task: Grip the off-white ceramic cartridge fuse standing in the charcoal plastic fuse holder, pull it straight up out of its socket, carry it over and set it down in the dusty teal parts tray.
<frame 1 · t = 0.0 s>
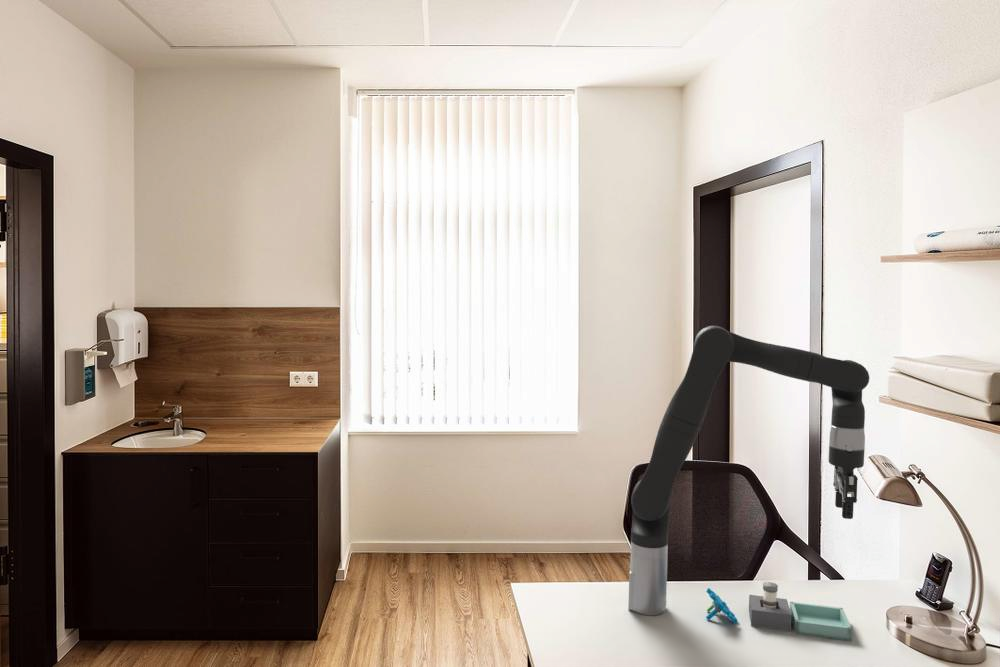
hand: (843, 512, 169), 29 cm above the table, tool pointing down, fingers open, 8 cm apart
fuse holder: (769, 620, 177), on the table
fuse: (769, 602, 176), in the fuse holder
blue plastic angular piece: (720, 620, 177), on the table
parts tray: (819, 626, 174), on the table
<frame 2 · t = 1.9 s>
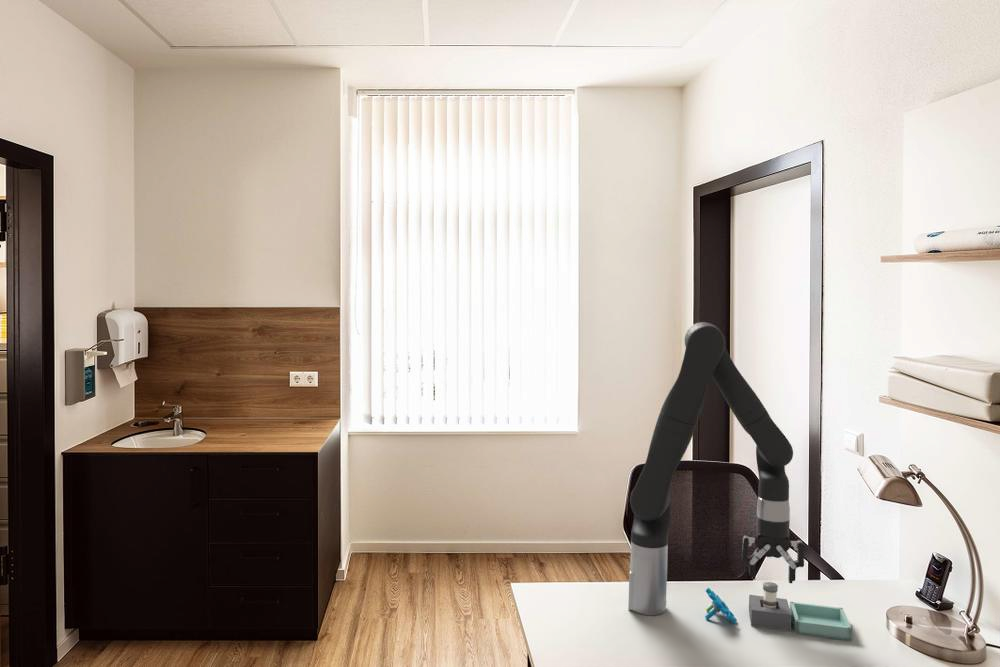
hand: (771, 580, 176), 10 cm above the table, tool pointing down, fingers open, 8 cm apart
nothing on the table moved.
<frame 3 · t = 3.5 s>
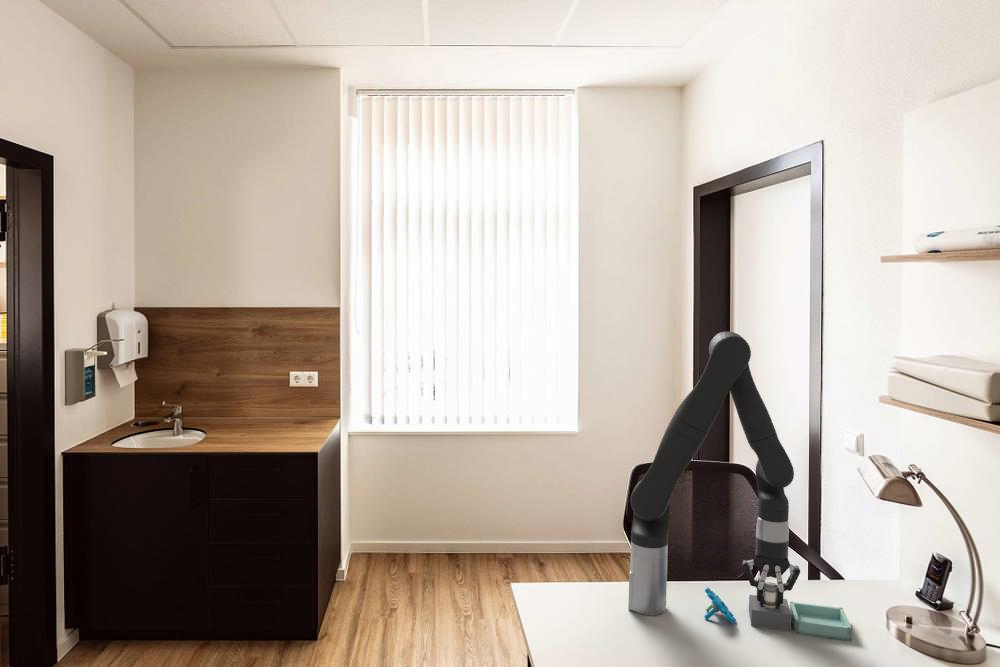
hand: (769, 603, 176), 4 cm above the table, tool pointing down, fingers closed on fuse, 3 cm apart
fuse: (769, 602, 176), in the fuse holder, touching gripper
everything else where it was.
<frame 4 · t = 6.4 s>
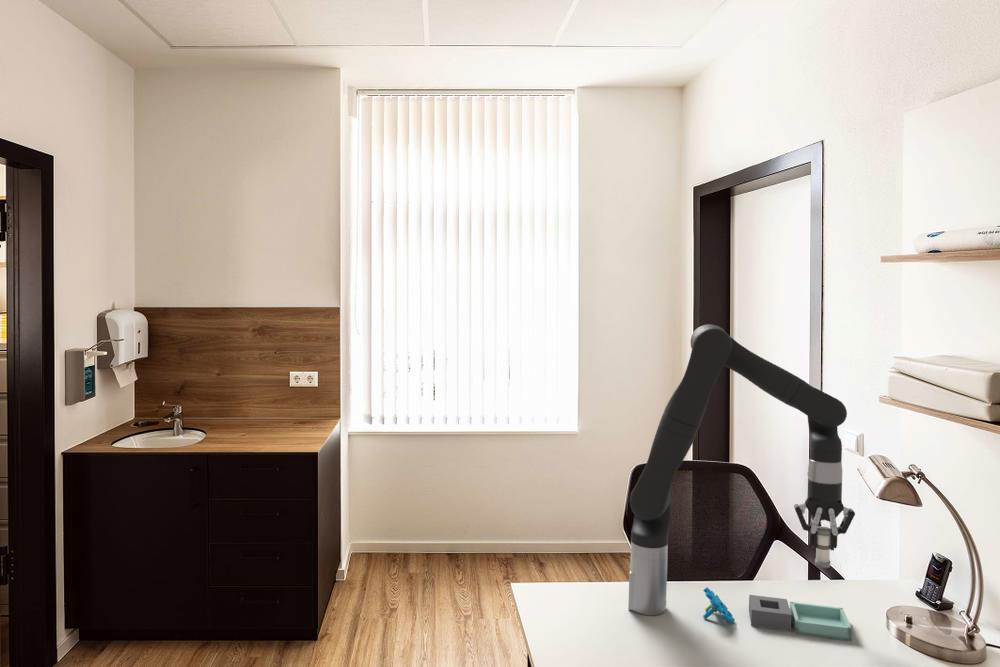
hand: (822, 548, 172), 20 cm above the table, tool pointing down, fingers closed on fuse, 3 cm apart
fuse: (822, 546, 172), point 20 cm above the table, touching gripper
everything else where it was.
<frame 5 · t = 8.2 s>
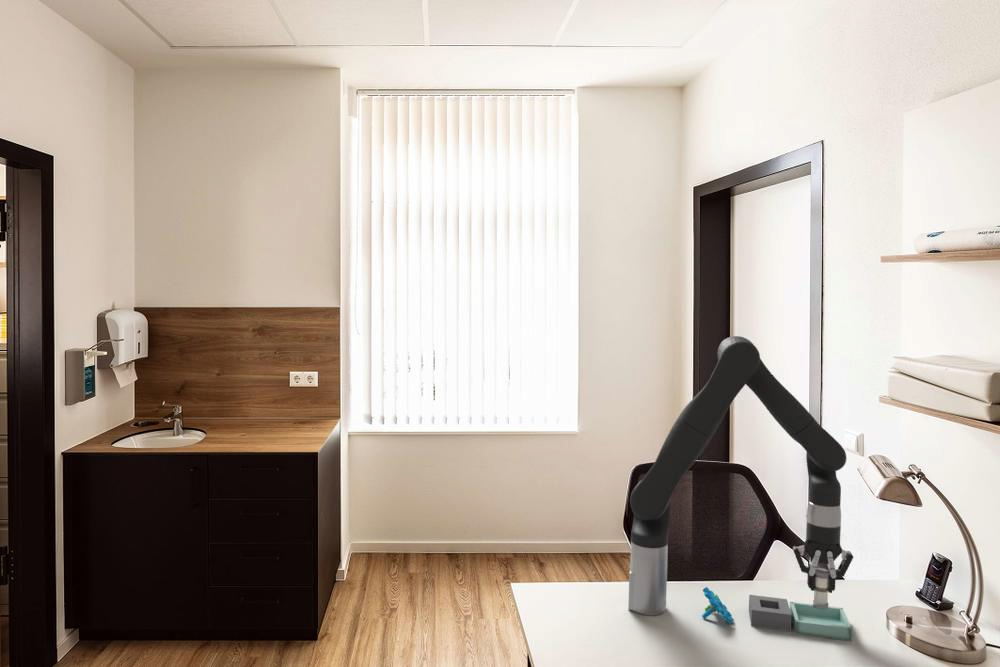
hand: (821, 590, 173), 9 cm above the table, tool pointing down, fingers closed on fuse, 3 cm apart
fuse: (821, 588, 173), point 10 cm above the table, touching gripper
everything else where it was.
when the fingers open (6 cm above the table, at t = 9.6 s): fuse drops 1 cm, resting on parts tray.
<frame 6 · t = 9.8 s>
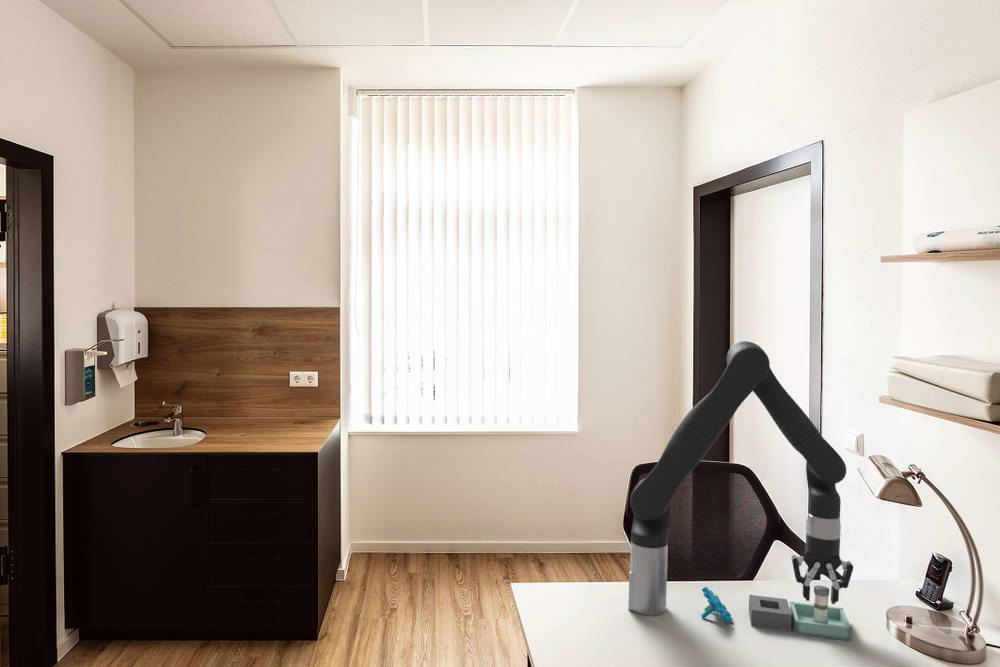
hand: (820, 600, 173), 6 cm above the table, tool pointing down, fingers open, 5 cm apart
fuse: (820, 606, 173), in the parts tray, point 5 cm above the table
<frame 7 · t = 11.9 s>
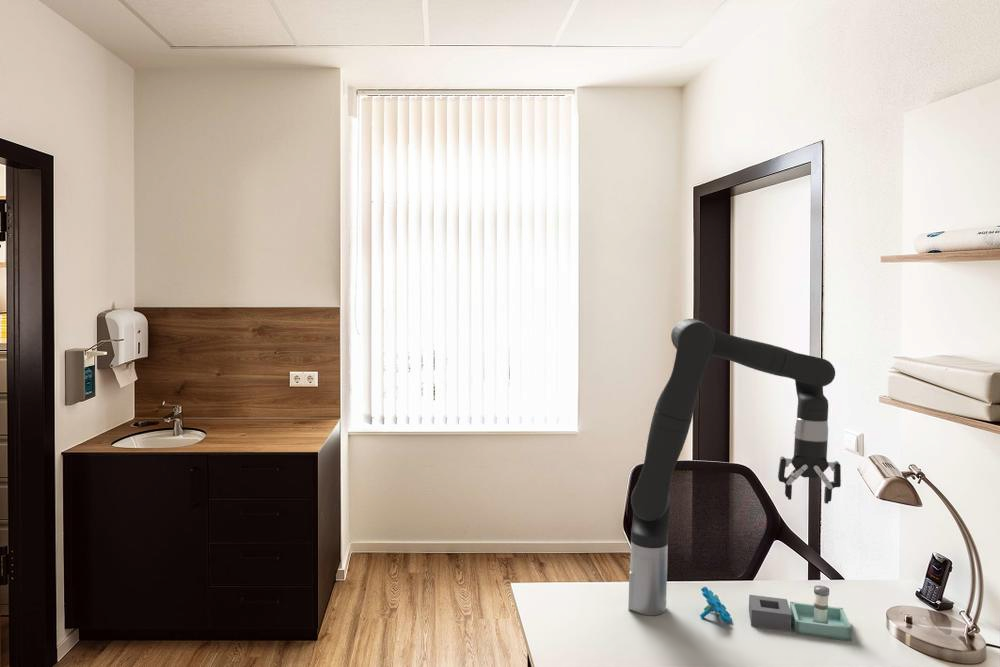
hand: (807, 500, 178), 29 cm above the table, tool pointing down, fingers open, 8 cm apart
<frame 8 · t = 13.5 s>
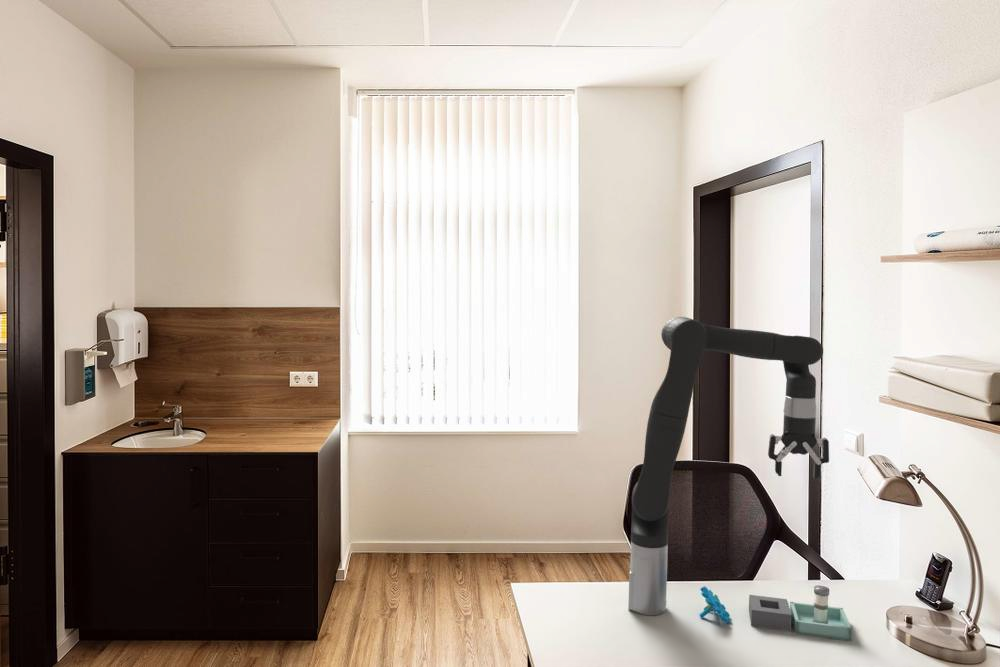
hand: (797, 476, 182), 34 cm above the table, tool pointing down, fingers open, 8 cm apart
at the end: fuse inside the target area on the parts tray (0.2 cm from its centre), point 5.1 cm above the parts tray's base; the gripper is holding nothing; fuse touching parts tray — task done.
